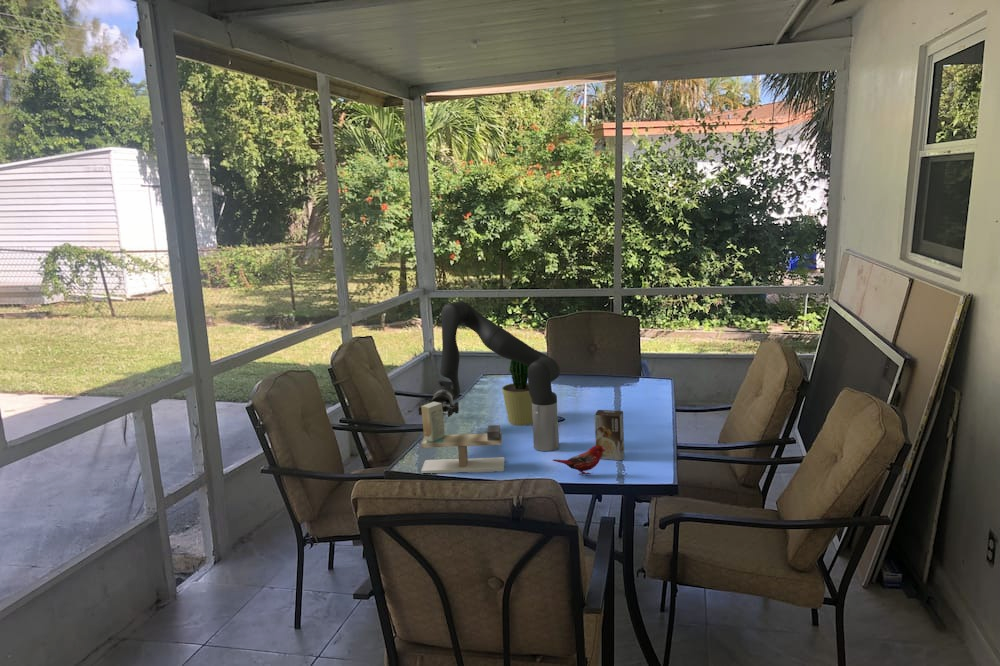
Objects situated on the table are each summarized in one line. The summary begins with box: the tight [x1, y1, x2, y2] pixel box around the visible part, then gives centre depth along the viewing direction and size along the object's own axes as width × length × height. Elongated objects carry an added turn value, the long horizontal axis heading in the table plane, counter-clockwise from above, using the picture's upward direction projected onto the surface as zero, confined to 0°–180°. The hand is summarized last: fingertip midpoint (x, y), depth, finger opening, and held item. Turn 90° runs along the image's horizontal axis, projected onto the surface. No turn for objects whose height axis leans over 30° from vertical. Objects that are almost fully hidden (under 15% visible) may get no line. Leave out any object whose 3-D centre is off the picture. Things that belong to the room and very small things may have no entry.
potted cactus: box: [501, 360, 533, 427], centre depth 276 cm, size 15×15×30 cm
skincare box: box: [421, 401, 446, 442], centre depth 229 cm, size 6×4×12 cm
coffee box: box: [594, 409, 625, 461], centre depth 233 cm, size 9×6×16 cm
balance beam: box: [420, 424, 503, 449], centre depth 230 cm, size 27×8×4 cm, turn 88°
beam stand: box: [420, 446, 506, 475], centre depth 231 cm, size 28×10×8 cm, turn 88°
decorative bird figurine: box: [552, 444, 605, 475], centre depth 218 cm, size 3×18×10 cm, turn 95°
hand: (436, 414), depth 234 cm, fingers open, 8 cm apart
